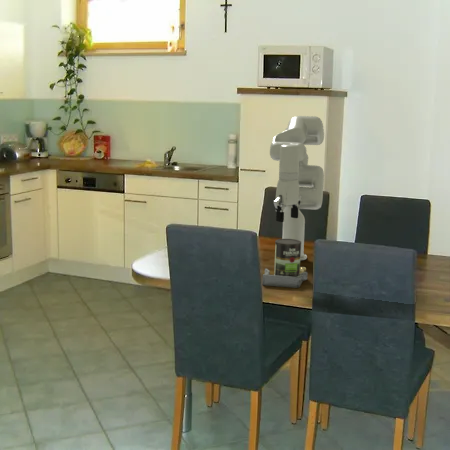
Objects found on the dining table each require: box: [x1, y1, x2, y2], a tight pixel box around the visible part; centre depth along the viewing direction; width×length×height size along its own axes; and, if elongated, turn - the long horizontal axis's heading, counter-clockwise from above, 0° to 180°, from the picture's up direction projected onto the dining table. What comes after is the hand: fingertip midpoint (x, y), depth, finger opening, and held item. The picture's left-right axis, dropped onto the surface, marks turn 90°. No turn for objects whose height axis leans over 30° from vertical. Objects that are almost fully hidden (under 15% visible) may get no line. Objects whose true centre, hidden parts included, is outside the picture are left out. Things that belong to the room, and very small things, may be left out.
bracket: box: [261, 268, 308, 289], centre depth 265 cm, size 13×17×4 cm
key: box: [300, 266, 307, 273], centre depth 280 cm, size 7×3×1 cm, turn 166°
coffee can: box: [273, 238, 301, 277], centre depth 273 cm, size 10×10×14 cm
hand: (287, 219), depth 270 cm, fingers open, 9 cm apart
